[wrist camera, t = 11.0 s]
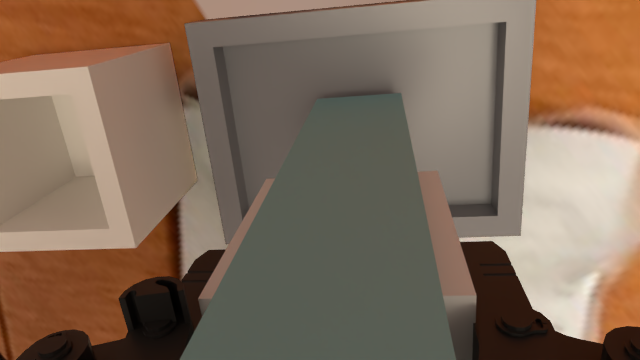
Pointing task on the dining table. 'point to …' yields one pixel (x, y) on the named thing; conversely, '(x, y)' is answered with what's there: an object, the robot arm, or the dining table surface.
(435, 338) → the peg
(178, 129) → the white open box
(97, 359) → the robot arm
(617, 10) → the dining table surface
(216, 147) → the tray
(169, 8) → the dining table surface
